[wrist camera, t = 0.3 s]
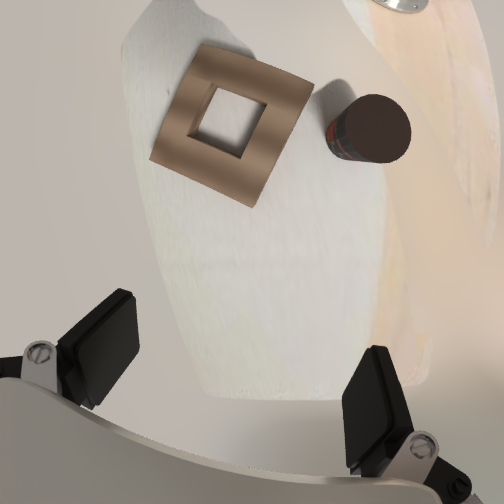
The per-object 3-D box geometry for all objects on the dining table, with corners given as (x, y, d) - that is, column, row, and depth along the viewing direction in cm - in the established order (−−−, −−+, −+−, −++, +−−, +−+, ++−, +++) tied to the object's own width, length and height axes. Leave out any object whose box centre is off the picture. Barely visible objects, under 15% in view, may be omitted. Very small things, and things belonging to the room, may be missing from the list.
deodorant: (348, 169, 34) (381, 178, 20) (316, 138, 34) (329, 125, 20) (377, 140, 32) (423, 132, 18) (345, 108, 31) (375, 80, 18)
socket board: (208, 50, 31) (201, 43, 28) (313, 89, 31) (314, 84, 28) (158, 158, 38) (148, 159, 35) (255, 204, 38) (252, 208, 35)
